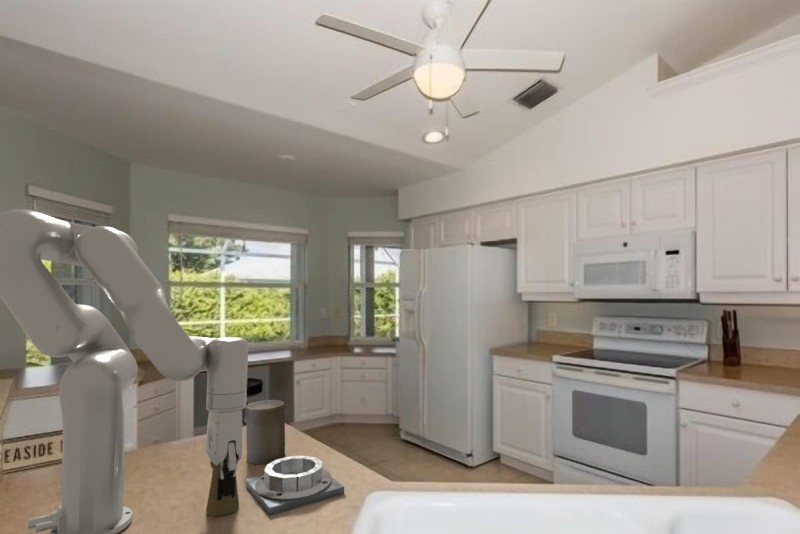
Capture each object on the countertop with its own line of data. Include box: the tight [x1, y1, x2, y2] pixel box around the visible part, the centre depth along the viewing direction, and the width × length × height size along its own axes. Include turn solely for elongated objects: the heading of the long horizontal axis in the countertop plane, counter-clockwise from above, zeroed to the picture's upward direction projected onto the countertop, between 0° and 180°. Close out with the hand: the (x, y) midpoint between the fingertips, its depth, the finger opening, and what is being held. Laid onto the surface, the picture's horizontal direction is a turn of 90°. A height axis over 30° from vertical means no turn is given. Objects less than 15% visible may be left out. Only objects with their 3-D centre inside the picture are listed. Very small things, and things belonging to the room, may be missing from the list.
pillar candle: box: [245, 398, 286, 465], centre depth 117 cm, size 10×10×15 cm
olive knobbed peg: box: [205, 453, 240, 516], centre depth 89 cm, size 6×6×11 cm
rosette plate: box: [245, 455, 345, 517], centre depth 98 cm, size 16×16×5 cm
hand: (223, 493), depth 89 cm, fingers closed on olive knobbed peg, 3 cm apart
